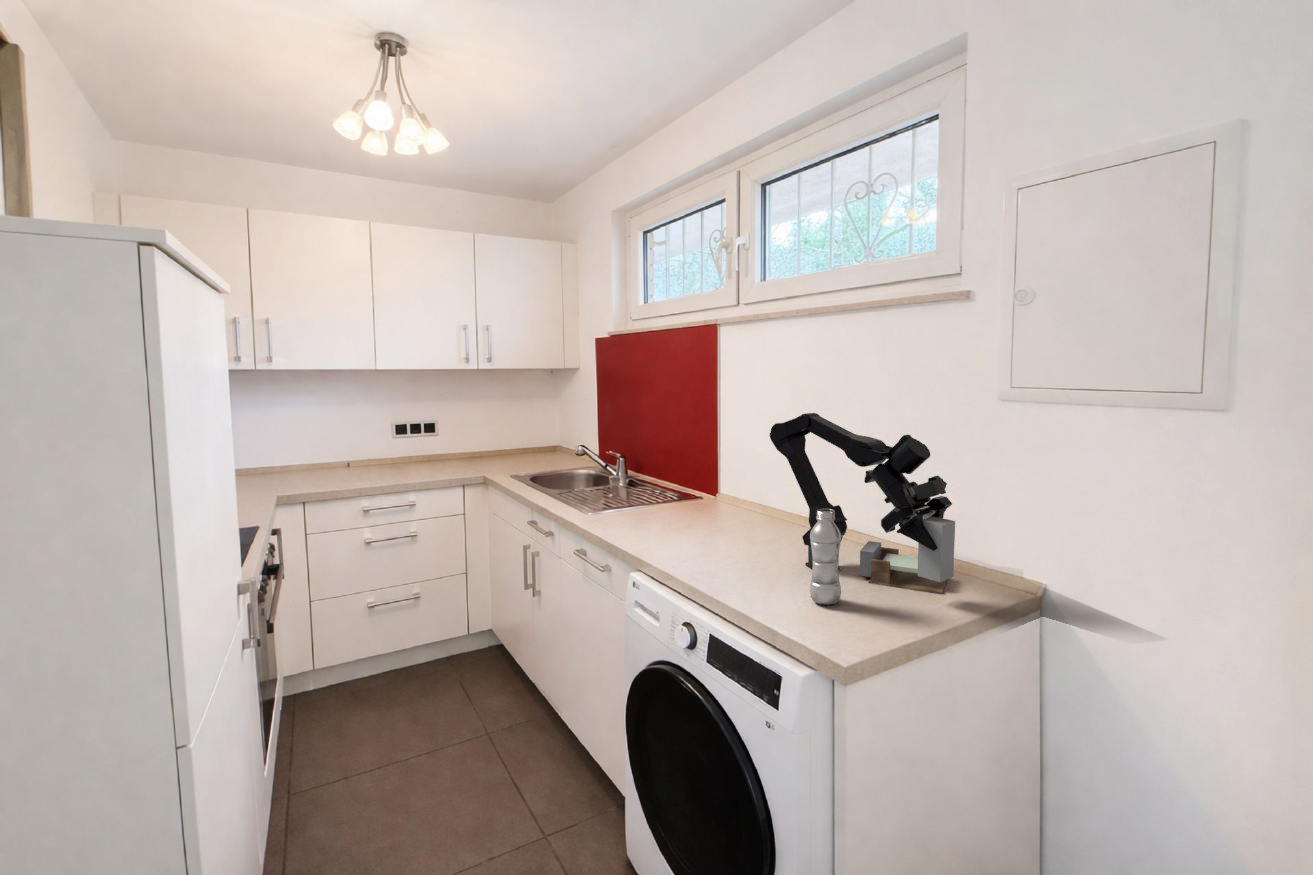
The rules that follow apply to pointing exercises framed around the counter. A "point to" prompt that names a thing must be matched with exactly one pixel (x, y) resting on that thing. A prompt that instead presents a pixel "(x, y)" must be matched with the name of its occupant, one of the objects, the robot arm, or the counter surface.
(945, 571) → the grey rectangular block
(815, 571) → the plastic bottle
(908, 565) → the trapdoor
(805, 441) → the robot arm
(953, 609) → the counter surface
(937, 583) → the frame
